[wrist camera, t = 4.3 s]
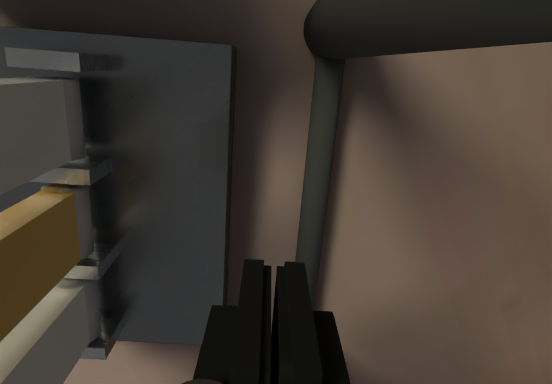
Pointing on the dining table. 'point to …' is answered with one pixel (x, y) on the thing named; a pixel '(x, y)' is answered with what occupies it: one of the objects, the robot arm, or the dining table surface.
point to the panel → (144, 174)
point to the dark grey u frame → (388, 41)
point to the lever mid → (41, 247)
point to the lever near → (38, 127)
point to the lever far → (52, 335)
